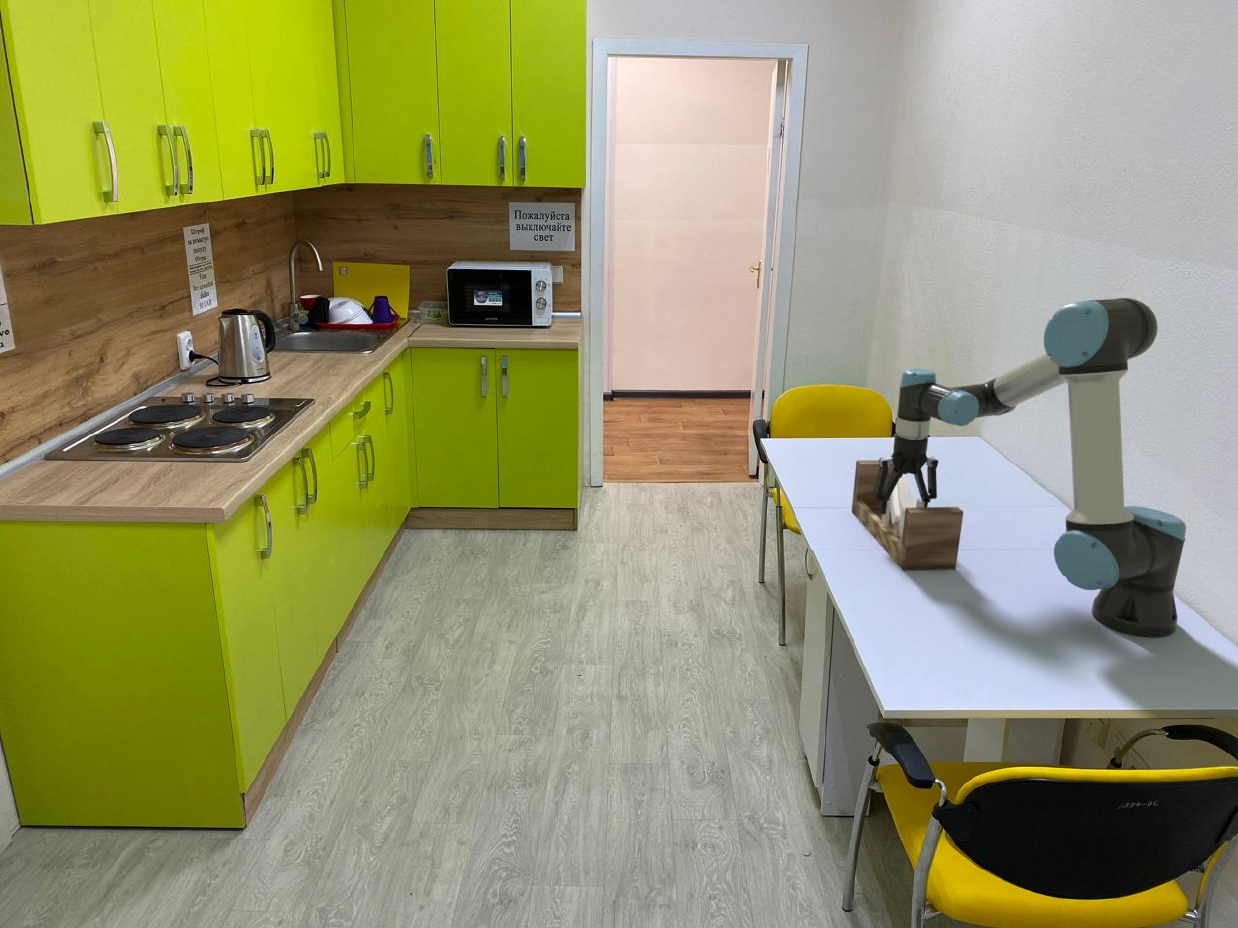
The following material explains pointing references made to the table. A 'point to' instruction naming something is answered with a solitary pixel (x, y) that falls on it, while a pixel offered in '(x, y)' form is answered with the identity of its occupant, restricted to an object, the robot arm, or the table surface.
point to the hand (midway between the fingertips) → (901, 525)
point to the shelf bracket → (900, 505)
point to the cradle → (908, 526)
